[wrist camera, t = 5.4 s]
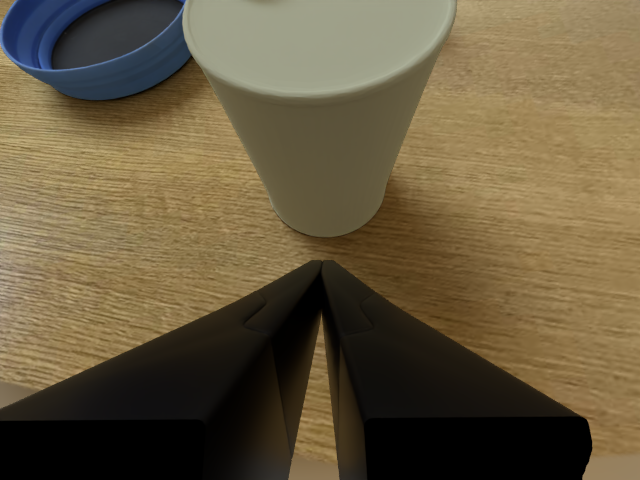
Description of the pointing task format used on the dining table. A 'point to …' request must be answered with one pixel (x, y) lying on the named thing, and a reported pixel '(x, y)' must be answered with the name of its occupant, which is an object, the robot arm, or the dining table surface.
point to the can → (319, 94)
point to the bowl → (96, 44)
